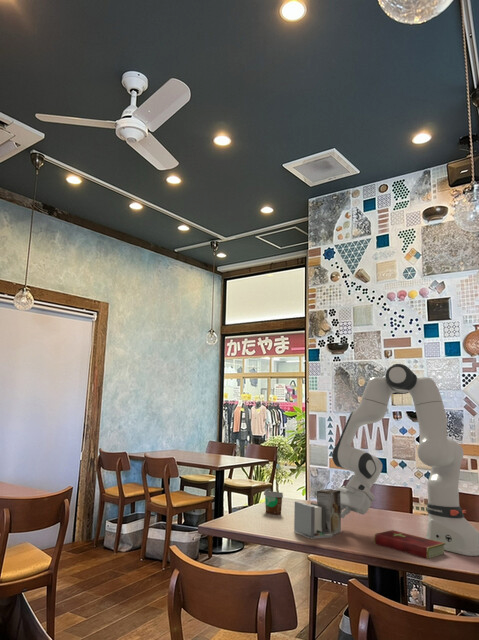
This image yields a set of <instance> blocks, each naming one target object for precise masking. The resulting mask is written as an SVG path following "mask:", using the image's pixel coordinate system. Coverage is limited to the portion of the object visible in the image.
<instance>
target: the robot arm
mask: <svg viewBox="0 0 479 640" xmlns="http://www.w3.org/2000/svg"><path fill="white" fill-rule="evenodd" d="M384 376H385V377H381V376H374V377H370V378H369V379H368V381H367V384H366V385H365V388H364V391H363V392H362V398H361V401H360V403H359V405H358V407H356V408H355V409H354V410H352V411H351V412H350V414H349V417H348V418H347V421H346V423H345V426H344V427H343V430H342V433H341V434H340V437H339V439H338V441H337V443H336V445H335V446H334V447H333V450H332V453H331V458H332V461H333V464H334V465H335V466H336V467H337V468H340V469H345V470H348V471H350V472H353V473H354V475H352V476H351V477H350V479H349V481H348V482H347V484H346V485H341V486H339V487H337V488H336V489H335V490H339V491H340V503H341V519H344V518H345V517H346V516H347V515H349V514H350V513H351V512H353V513H357V514H359V515H365V514H367V512H368V511H369V509H370V508H371V506H372V504H373V502H374V501H375V500H376V498H375V495H374V494H373V493H372V491H371V489H372V486H373V485H374V484H376V482H377V480H378V479H379V477H380V475H381V473H382V470H383V463H382V461H381V459H379V458H378V457H377V456H375V455H374V454H370V453H369V452H368V451H365V450H362V449H358V448H356V447H354V446H352V444H353V441H354V439H355V436H356V433H357V432H358V430H359V429H360V427H362V426H364V425H369V424H371V425H372V424H375V423H378V422H380V421H382V420H383V419H384V417H385V415H386V413H387V410H388V407H389V406H388V405H389V401H390V398H391V396H392V395H406V394H409V395H410V396H411V398H412V403H413V406H414V410H415V415H416V419H417V422H418V430H419V444H418V446H417V457H418V459H419V460H420V462H422V463H423V464H424V465H426V466H428V467H429V468H431V470H430V474H429V476H428V477H429V478H428V479H427V485H426V486H427V503H426V513H427V515H428V516H427V517H428V520H427V522H428V523H427V529H426V530H427V531H426V535H425V538H426V539H430V540H434V541H438V542H442V543H445V545H444V551H448V552H450V553H451V552H452V553H456V554H458V555H459V554H460V555H463V556H469V557H470V556H471V557H473V556H475V557H478V556H479V531H478V529H476V527H474V525H472V524H471V523H470V522H469V521H468V520H467V519H466V518H465V515H464V514H467V509H462V507H461V506H460V494H459V493H460V492H459V483H460V482H459V481H460V473H461V465H462V461H463V459H464V449H463V447H462V446H461V444H459V443H458V442H457V441H456V440H453V439H451V438H448V432H447V430H448V428H447V426H448V420H449V419H448V417H447V412H446V410H445V406H444V402H443V398H442V396H441V393H440V390H439V388H438V386H437V383H436V382H435V381H434V379H432V378H430V377H426V376H425V377H417V375H416V374H415V373H414V372H413V370H411V369H410V367H409V366H407V365H405V364H403V363H402V364H401V363H394V364H392V365H390V366H389V367H388V368H387V369H386V372H385V375H384Z"/></svg>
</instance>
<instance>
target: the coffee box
mask: <svg viewBox="0 0 479 640" xmlns="http://www.w3.org/2000/svg"><path fill="white" fill-rule="evenodd" d="M316 504H319V505H323V506H326V528H322V530H321V533H326V532H329V533H332V534H333V536H334V535H337V534H339V533H341V532H342V525H341V524H342V523H341V522H342V520H341V519H342V518H341V503H340V491H339V490H336V489H329V488H326V489H320V490H317V491H316Z"/></svg>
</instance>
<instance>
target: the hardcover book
mask: <svg viewBox="0 0 479 640" xmlns="http://www.w3.org/2000/svg"><path fill="white" fill-rule="evenodd" d="M373 539H374V541H373V542H374V545H377V546H380V547H384V548H387V549H392V550H394V551H398V552H402V553H406V554H409V555H413V556H415V557H419V558H422V559H423V558H424V559H427V560H430V559H432V558H435V557H437V556H438V557H439V556H442V555H444V554H445V550H444V545H445V543H442V542H438V541H434V540H430V539H426V537H423V536H422V537H421V536H418V535H414V534H410V533H405V532H402V531H399V530H398V531H397V530H394V529H391V530H386V531H382V532H377V533H374V538H373Z"/></svg>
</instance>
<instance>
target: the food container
mask: <svg viewBox="0 0 479 640" xmlns="http://www.w3.org/2000/svg"><path fill="white" fill-rule="evenodd" d="M263 496H264V497H265V498H264V499H265V501H264V503H265V514H267V515H268V514H269V515H272V516H278V515H279V516H281V515H282V506H283V498H284V493H283V492H278V491H274V490H272V488H266V489H264V492H263Z"/></svg>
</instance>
